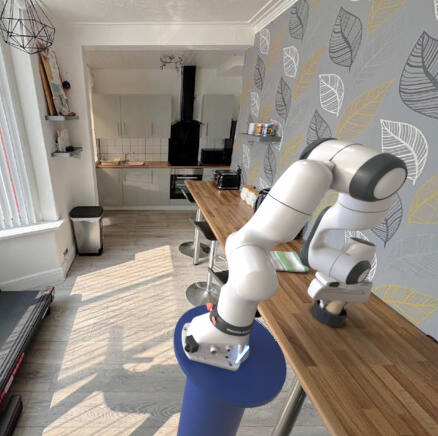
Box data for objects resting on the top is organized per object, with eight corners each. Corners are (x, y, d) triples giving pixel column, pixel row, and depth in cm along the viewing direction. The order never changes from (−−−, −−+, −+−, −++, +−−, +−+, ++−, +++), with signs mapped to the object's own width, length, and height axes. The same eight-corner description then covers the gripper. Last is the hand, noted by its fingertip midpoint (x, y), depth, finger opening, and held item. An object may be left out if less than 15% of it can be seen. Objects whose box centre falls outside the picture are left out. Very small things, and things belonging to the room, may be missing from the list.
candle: (324, 320, 90) (333, 300, 86) (316, 309, 95) (325, 290, 91) (339, 322, 89) (350, 302, 85) (331, 311, 94) (340, 291, 90)
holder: (321, 326, 88) (326, 316, 86) (306, 306, 97) (310, 296, 95) (349, 328, 88) (355, 318, 86) (331, 307, 97) (335, 298, 95)
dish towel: (309, 274, 118) (311, 268, 116) (262, 269, 119) (263, 264, 118) (293, 255, 133) (294, 250, 132) (251, 252, 135) (252, 246, 134)
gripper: (367, 275, 88) (352, 303, 93) (311, 271, 88) (300, 300, 94) (382, 286, 82) (365, 316, 87) (322, 282, 82) (309, 312, 88)
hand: (331, 307), depth 90 cm, fingers closed on candle, 5 cm apart
